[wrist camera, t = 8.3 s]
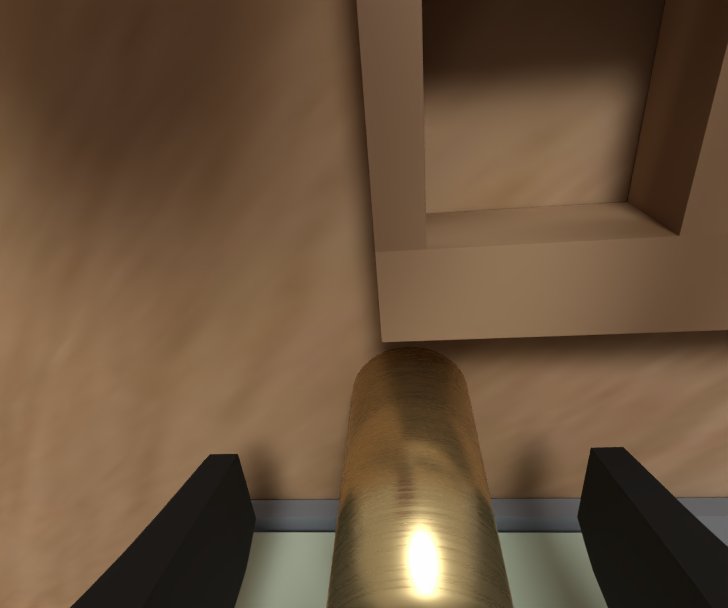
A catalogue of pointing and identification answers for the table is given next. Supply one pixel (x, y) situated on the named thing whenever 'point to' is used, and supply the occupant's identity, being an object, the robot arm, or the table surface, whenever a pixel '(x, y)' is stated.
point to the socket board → (555, 223)
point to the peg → (415, 493)
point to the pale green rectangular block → (520, 552)
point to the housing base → (510, 514)
